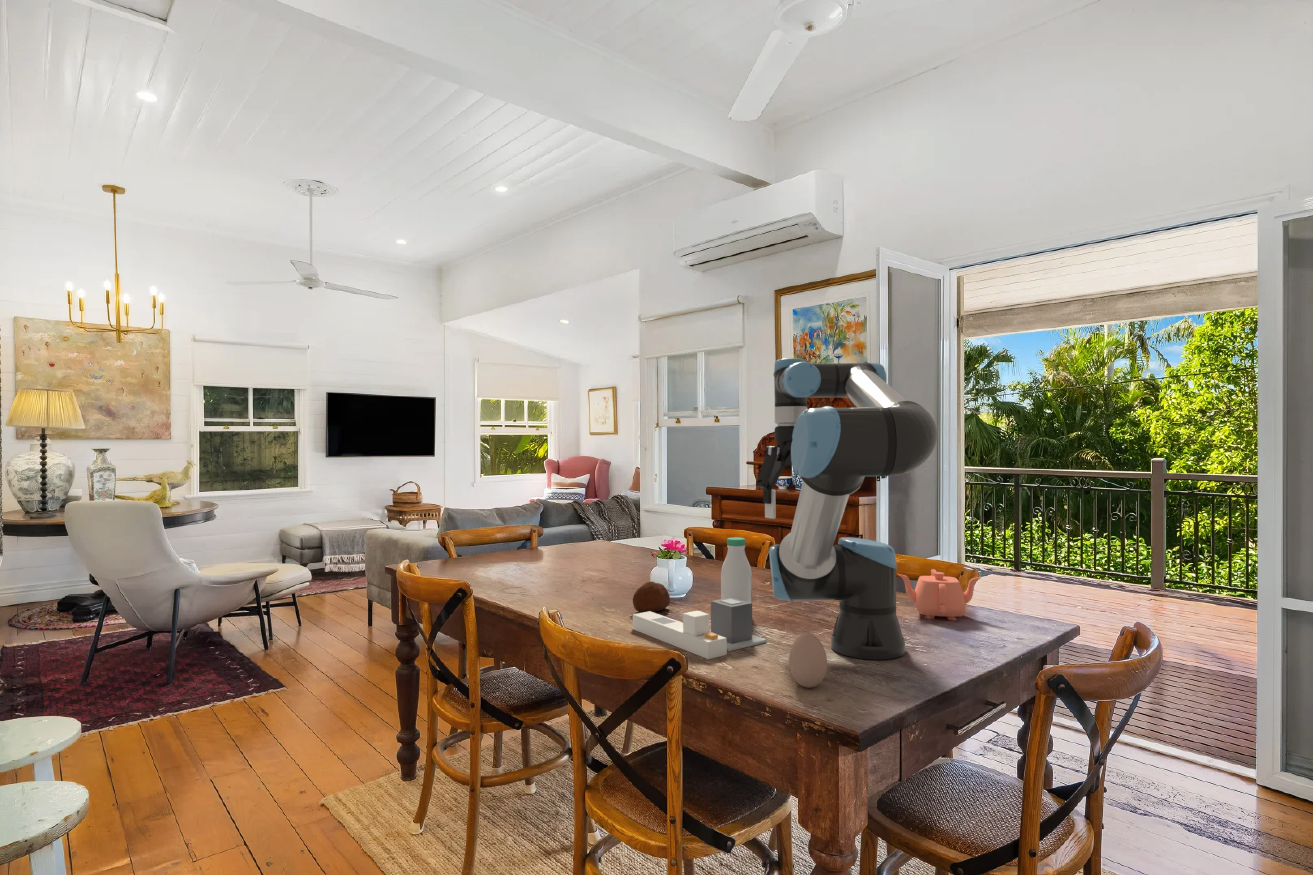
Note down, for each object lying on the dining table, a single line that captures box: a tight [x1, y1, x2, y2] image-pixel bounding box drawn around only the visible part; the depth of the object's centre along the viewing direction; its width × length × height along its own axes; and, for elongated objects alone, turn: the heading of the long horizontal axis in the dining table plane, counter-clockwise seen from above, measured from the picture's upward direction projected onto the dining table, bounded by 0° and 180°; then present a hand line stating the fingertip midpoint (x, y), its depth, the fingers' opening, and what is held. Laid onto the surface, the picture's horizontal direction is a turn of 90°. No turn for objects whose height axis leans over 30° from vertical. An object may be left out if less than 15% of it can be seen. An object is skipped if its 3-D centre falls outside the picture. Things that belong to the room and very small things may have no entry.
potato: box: [632, 581, 671, 613], centre depth 185 cm, size 8×12×8 cm, turn 137°
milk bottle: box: [720, 536, 753, 604], centre depth 178 cm, size 8×8×20 cm
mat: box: [727, 634, 768, 652], centre depth 158 cm, size 11×11×1 cm
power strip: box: [632, 611, 728, 660], centre depth 158 cm, size 28×5×4 cm, turn 35°
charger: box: [710, 597, 753, 644], centre depth 158 cm, size 7×6×8 cm
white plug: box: [682, 610, 710, 636], centre depth 152 cm, size 4×4×4 cm
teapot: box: [897, 568, 983, 622], centre depth 178 cm, size 14×14×11 cm
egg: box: [788, 632, 828, 689], centre depth 129 cm, size 7×7×10 cm
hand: (791, 516), depth 166 cm, fingers open, 13 cm apart
